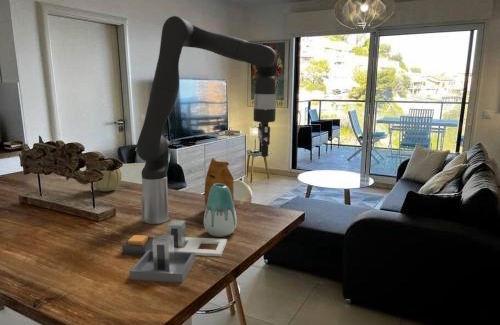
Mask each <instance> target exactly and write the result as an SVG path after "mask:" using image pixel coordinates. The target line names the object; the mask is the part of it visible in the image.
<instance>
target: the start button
mask: <svg viewBox="0 0 500 325" xmlns="http://www.w3.org/2000/svg"><path fill="white" fill-rule="evenodd" d="M132 236H133V237H132ZM132 236H131V237H130V238H128V239H127V240H128V244H131V245H144V244H145V243H146V241H147V240H148V237H149V236H148V235H143V234H140V235H139V234H138V235H137V234H134V235H132Z"/></svg>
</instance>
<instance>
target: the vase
mask: <svg viewBox="0 0 500 325" xmlns="http://www.w3.org/2000/svg"><path fill="white" fill-rule="evenodd" d="M237 218H238V217H237V213H236V208H235V204H233V201H232V196H231V192H230V190H229V188H228V187H227V186H226V185H224V184H220V183H216V184H213V186H212V187H211V189H210V192H209V196H208V201H207V205H206V208H205V207H204V214H203V227H204V229H205V230H206V233H208V234H209V235H211V236H212V237H218V238H221V237H227V236H229V235H231V234H233V232H234V231H235V230H236V227H237V222H238V219H237Z"/></svg>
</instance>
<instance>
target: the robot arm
mask: <svg viewBox="0 0 500 325" xmlns="http://www.w3.org/2000/svg"><path fill="white" fill-rule="evenodd" d="M183 47H184V48H185V47H186V48H194V49H195V48H196V49H201V50H204V51H209V52H211V53H213V54H217V55H219V56H222V57H224V58H228V59H230V60H233V61H234V60H235V61H238V62H243V63H244V62H245V63H246V64H249V65H253V66H256V67H257V73H256V75H257V76H256V78H255V81H254V98H253V119H252V120H253V122H256V123H258V127H257V132H258V133H257V135H258V136H257V137H258V141H259V142H258V143H259V145H258V146H259V147H258V148H259V150H258V152H259V153H261V157H264V158H267V157H269V145H270V144H271V142H270V140H271V139H270V138H271V127H270V126H269V123H275V121H276V113H277V112H276V110H277V109H276V107H277V100H276V87H277V86H276V85H277V84H276V83H277V82H276V77H277V72H278V62H279V61H278V60H279V59H278V58H279V57H278V54H277V52H276V50H274V49H273V48H272V47H271V46H268V45H264V44H260V43H257V42H256V43H255V42H250V41H248V40H245V39H242V38H239V37H236V36H231V35H228V34H223V33H216V32H212V31H210V30H209V31H208V30H205V29H203V28H201V27H198V26H196V25H194V24H192V23H191V22H190V21H188V20H186V19H184V18H182V17H180V16H178V15H173V16H170V17H168V18H167V19H166V20H165V21H164V23H163V25H162V30H161V37H160V45H159V54H158V59H157V62H156V67H155V71H154V77H153V81H152V84H151V89H150V94H149V98H148V103H147V108H146V112H145V116H144V117H145V118H144V121H143V125H142V127H141V131H140V134H139V136H138V140H137V142H136V153H137V156H138V157H139V158H140V159H141V160H143V161H144V162H145V164H144V167H143V168H142V170H141V184H142V185H141V186H142V189H141V190H142V197H141V198H140V205H141V207H140V208H141V222H142V223H146V224H151V225H157V224H164V223H166V222H167V221H169V215H170V214H169V213H170V212H169V197H168V196H169V195H168V173H167V172H168V170H169V157H170V156H169V144H168V141H167V139H166V137H165V136H163V135H162V134H163V130H164V127H165V125H166V122H167V120H168V118H169V116H170V115H171V114H172V111H173V109H174V107H175V105H176V101H177V98H178V94H179V91H180V90H179V89H180V70H179V68H180V67H179V66H180V65H179V63H180V57H181V55H182V49H183Z"/></svg>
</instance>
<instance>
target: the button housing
mask: <svg viewBox="0 0 500 325" xmlns="http://www.w3.org/2000/svg"><path fill="white" fill-rule="evenodd" d="M133 236H134V235H132V236H131V237H133ZM128 240H129V239H127V240H126V241H125V242H124V243H123V244H122V245H121V246H122V248H121V250H122V255H131V256H133V255H134V256H143V255H144V254H145V253H146V252H147V251H148V250H152V249H153V243H152V241H153V240H154V237H152V236H151V237H150V236H148V240H147V241H146V243H145V244H144V245H131V244H128Z"/></svg>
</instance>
